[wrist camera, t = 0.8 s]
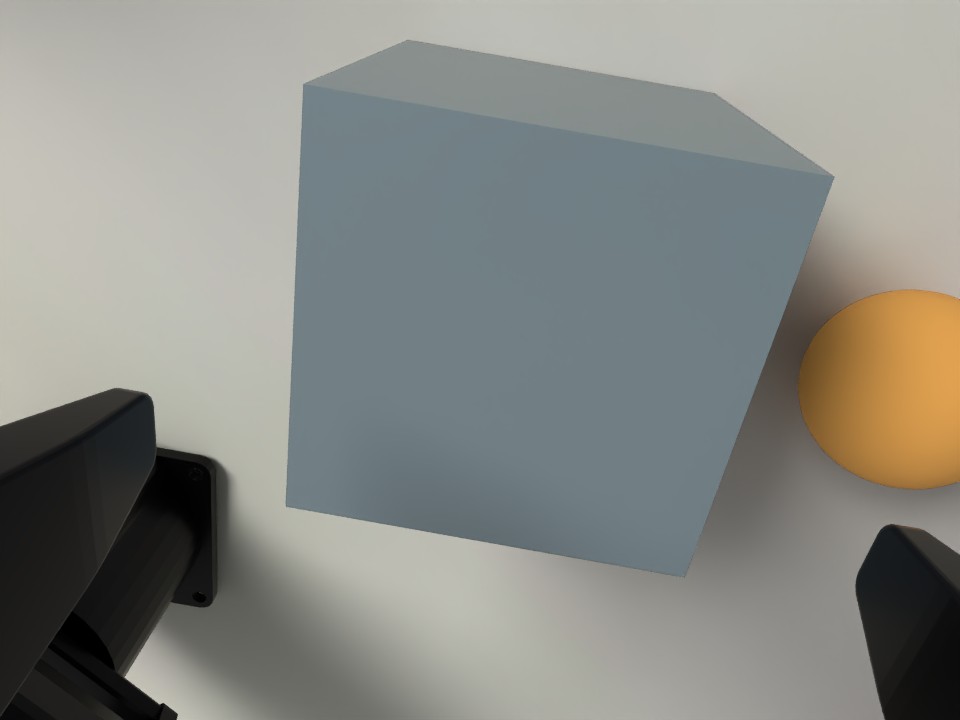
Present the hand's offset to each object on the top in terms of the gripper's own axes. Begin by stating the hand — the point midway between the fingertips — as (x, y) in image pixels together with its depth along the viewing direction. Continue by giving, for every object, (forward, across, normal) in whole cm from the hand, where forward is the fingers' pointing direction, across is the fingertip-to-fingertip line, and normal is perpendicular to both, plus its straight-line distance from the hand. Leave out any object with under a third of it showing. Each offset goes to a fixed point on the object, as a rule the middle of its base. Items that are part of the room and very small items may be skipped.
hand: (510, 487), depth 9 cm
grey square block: (+12, 0, 0) cm, 12 cm away
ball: (+10, -10, +2) cm, 14 cm away
